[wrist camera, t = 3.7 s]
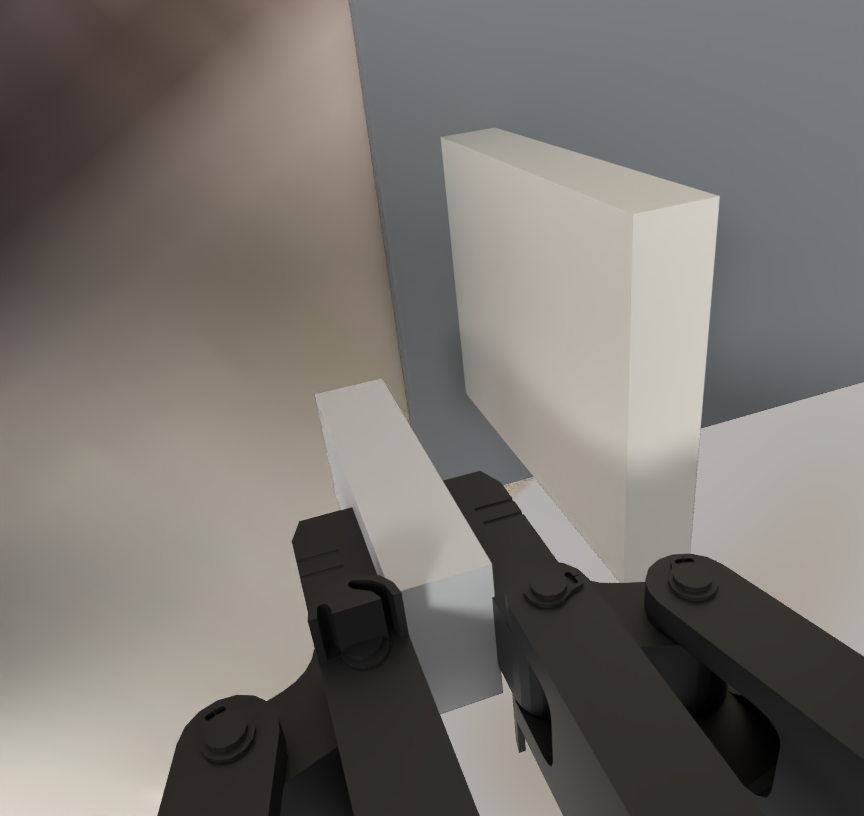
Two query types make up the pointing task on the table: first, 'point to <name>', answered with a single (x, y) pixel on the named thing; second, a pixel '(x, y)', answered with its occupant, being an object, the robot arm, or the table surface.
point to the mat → (638, 150)
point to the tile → (586, 331)
